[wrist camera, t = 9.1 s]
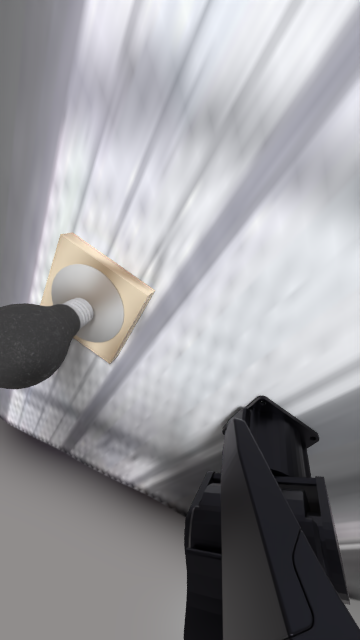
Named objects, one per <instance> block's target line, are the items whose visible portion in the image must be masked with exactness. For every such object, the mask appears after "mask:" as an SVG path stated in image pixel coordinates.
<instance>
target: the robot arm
mask: <svg viewBox="0 0 360 640" xmlns="http://www.w3.org/2000/svg"><path fill="white" fill-rule="evenodd" d="M261 401H265V402H261ZM223 434H224V435H225V438H224V446H223V452H222V455H223V460H222V471H221V473H215V472H211V471H208V472H207V474H206V476H205V478H204V480H203V482H202V484H201V486H200V488H199V490H198V492H197V494H196V497H195V499H194V501H193V503H192V505H191V507H190V509H189V512H188V514H187V516H186V520H185V533H184V535H185V537H184V540H185V541H184V542H185V543H184V546H185V555H186V566H187V602H186V615H185V626H184V640H360V629H359V627H358V626H357V624H356V623H355V621H354V619H353V618H352V616H351V614H350V613H349V611H348V610H347V608H346V606H345V605H344V604H350V601H349V596H348V590H347V585H346V580H345V574H344V569H343V563H342V558H341V553H340V549H339V544H338V539H337V534H336V530H335V525H334V520H333V516H332V511H331V507H330V503H329V498H328V494H327V489H326V485H325V481H324V477H317V476H315V478H311V473H310V467H309V461H308V455H307V448H308V447H310V446H312V445H313V444H315V443H316V442H318V441H319V435H318V433H317V432H315V431H314V430H312V429H311V428H310V427H308V426H307V425H305V424H304V423H303V422H301V421H300V420H298V419H297V418H295V417H294V416H293V415H291V414H290V413H288V412H287V411H286V410H284V409H283V408H281V407H280V406H278V405H277V404H276V403H274V402H273V401H271V400H270V399H269V398H267V397H265V396H259V397H258V398H257V399H255V400H254V401H253V402H252V403H251V404H250V405H249V406H247V407H245V408H242V409H241V410H240V411H239V412H238V413H237V414H235V415H234V416H233V417H232V418H231V419H230V420H229V421H228V424H227V425H225V426H224V427H223ZM312 436H314V437H312Z"/></svg>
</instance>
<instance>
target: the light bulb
mask: <svg viewBox="0 0 360 640" xmlns="http://www.w3.org/2000/svg"><path fill="white" fill-rule="evenodd" d="M92 319H93V309H92V307H91V305H90V304H89V303H88V302H87V301H86V300H85V299H82V298H75V299H71V300H69V301H67V302H65V303H63V304H56V305H52V306H41V305H35V304H11V305H7V306H3V307H0V388H6V389H21V388H27V387H31V386H33V385H36V384H38V383H40V382H42V381H44V380H46V379H47V378H49V377H50V376H51V375H52V374H53V373H54V372H55V371H56V370H57V369H58V368H59V367H60V365H61V364H62V362H63V361H64V359H65V356H66V354H67V351H68V348H69V345H70V342H71V340H72V338H73V337H74V336H75V335H76V334H77V333H78V331H79V329H80V328H82V327H83V326H85V325H86V324H88V323H89V322H90V321H91V320H92Z"/></svg>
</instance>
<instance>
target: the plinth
mask: <svg viewBox="0 0 360 640" xmlns="http://www.w3.org/2000/svg"><path fill="white" fill-rule="evenodd" d="M154 292H155V290H153V289H152V288H151V287H149V286H148V285H146V284H145V283H143V282H142V281H141V280H139V279H138V278H136V277H135V276H133V275H132V274H131V273H129V272H128V271H126V270H125V269H124V268H122V267H121V266H119V265H118V264H116V263H115V262H114V261H112V260H111V259H109V258H108V257H106V256H105V255H104V254H102V253H101V252H99V251H98V250H96V249H95V248H94V247H92V246H91V245H89V244H88V243H87V242H85V241H84V240H82V239H81V238H79V237H78V236H77V235H75V234H74V233H67V234H60V238H59V241H58V245H57V248H56V252H55V255H54V259H53V262H52V266H51V269H50V273H49V276H48V280H47V283H46V287H45V290H44V294H43V297H42V301H41V304H40V305H41V306H52V305H56V304H63V303H65V302H67V301H69V300H71V299H75V298H82V299H85V300H86V301H87V302H88V303H89V304H90V305H91V307H92V309H93V319H92V320H91V321H90V322H89V323H88V324H86V325H85V326H83V327H82V328H80V329H79V331H78V333H77V334H76V335H75V336H74V337H73V338H74V339H76V340H77V341H79V342H80V343H81V344H83V345H84V346H86V347H87V348H88V349H90V350H91V351H93V352H94V353H95V354H97V355H98V356H100V357H101V358H102V359H104V360H105V361H107V362H108V363H109V364H110V363H111V362H112V361H113V360H114V359H115V358H116V357H117V356H118V355H119V353H120V351H121V349H122V348H123V346H124V344H125V342H126V341H127V339H128V337H129V335H130V334H131V332H132V330H133V328H134V327H135V325H136V323H137V321H138V320H139V318H140V316H141V314H142V313H143V311H144V309H145V307H146V306H147V304H148V302H149V300H150V299H151V297H152V295H153V293H154Z"/></svg>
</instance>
